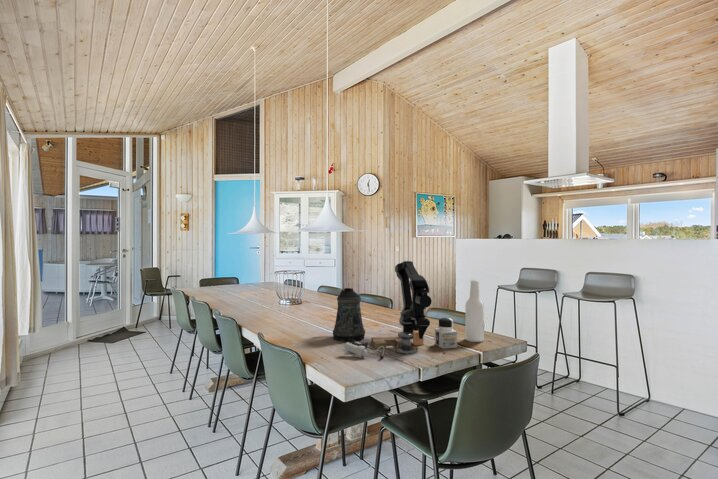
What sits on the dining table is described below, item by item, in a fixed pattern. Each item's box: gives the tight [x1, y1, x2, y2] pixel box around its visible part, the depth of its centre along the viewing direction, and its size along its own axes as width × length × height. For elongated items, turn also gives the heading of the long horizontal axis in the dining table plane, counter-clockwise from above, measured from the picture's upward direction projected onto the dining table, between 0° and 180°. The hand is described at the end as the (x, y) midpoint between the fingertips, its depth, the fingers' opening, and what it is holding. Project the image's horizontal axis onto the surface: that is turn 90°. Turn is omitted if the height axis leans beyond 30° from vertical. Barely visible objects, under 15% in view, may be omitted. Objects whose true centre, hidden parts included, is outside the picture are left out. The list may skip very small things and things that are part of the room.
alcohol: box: [464, 279, 485, 343], centre depth 199 cm, size 9×9×30 cm
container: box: [434, 317, 458, 349], centre depth 187 cm, size 8×8×13 cm
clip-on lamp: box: [343, 340, 385, 359], centre depth 171 cm, size 12×6×18 cm
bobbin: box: [395, 331, 417, 355], centre depth 178 cm, size 9×9×8 cm
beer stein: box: [332, 287, 366, 343], centre depth 203 cm, size 16×19×25 cm
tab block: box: [412, 331, 424, 346], centre depth 191 cm, size 4×4×6 cm
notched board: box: [370, 336, 401, 350], centre depth 189 cm, size 11×16×2 cm
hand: (418, 336), depth 191 cm, fingers open, 9 cm apart
